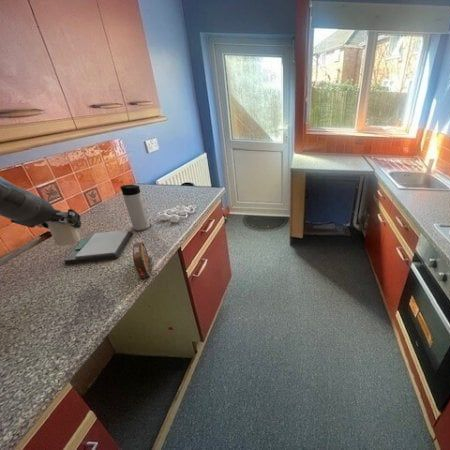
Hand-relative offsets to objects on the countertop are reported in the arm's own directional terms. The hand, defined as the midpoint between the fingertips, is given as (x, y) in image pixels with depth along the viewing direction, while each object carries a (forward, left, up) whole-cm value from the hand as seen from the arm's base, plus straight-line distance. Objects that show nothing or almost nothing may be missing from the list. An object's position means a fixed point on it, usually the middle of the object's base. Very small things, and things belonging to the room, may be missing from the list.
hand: (66, 226), depth 76 cm
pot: (0, -2, -4) cm, 5 cm away
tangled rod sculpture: (+24, +37, -16) cm, 47 cm away
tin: (+19, -5, -16) cm, 26 cm away
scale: (+1, +12, -16) cm, 20 cm away
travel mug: (+11, +26, -16) cm, 32 cm away
